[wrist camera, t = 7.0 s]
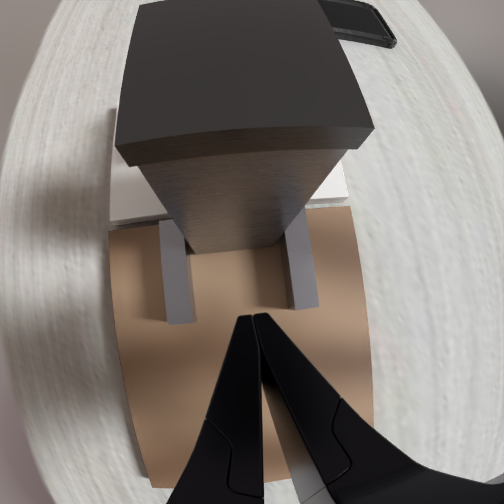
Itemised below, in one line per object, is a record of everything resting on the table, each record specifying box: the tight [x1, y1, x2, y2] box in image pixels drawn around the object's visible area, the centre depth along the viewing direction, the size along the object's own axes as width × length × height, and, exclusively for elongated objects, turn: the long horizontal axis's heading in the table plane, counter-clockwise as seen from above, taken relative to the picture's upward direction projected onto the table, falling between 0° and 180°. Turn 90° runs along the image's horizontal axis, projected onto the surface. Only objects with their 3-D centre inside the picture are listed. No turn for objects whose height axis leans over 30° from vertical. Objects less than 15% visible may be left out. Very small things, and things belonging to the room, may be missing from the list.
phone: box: [317, 0, 397, 49], centre depth 21 cm, size 8×1×15 cm
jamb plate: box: [110, 100, 349, 225], centre depth 17 cm, size 9×14×1 cm, turn 97°
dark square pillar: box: [114, 0, 375, 255], centre depth 11 cm, size 10×4×12 cm, turn 7°
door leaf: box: [109, 206, 374, 488], centre depth 15 cm, size 16×14×1 cm
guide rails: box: [159, 206, 320, 325], centre depth 15 cm, size 5×7×2 cm
